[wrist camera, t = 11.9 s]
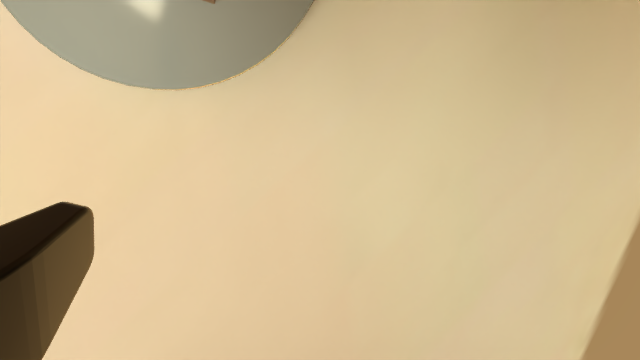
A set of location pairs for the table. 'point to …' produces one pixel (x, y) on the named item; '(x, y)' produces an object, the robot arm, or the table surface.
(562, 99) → the table surface
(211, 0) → the walnut block
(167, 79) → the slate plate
